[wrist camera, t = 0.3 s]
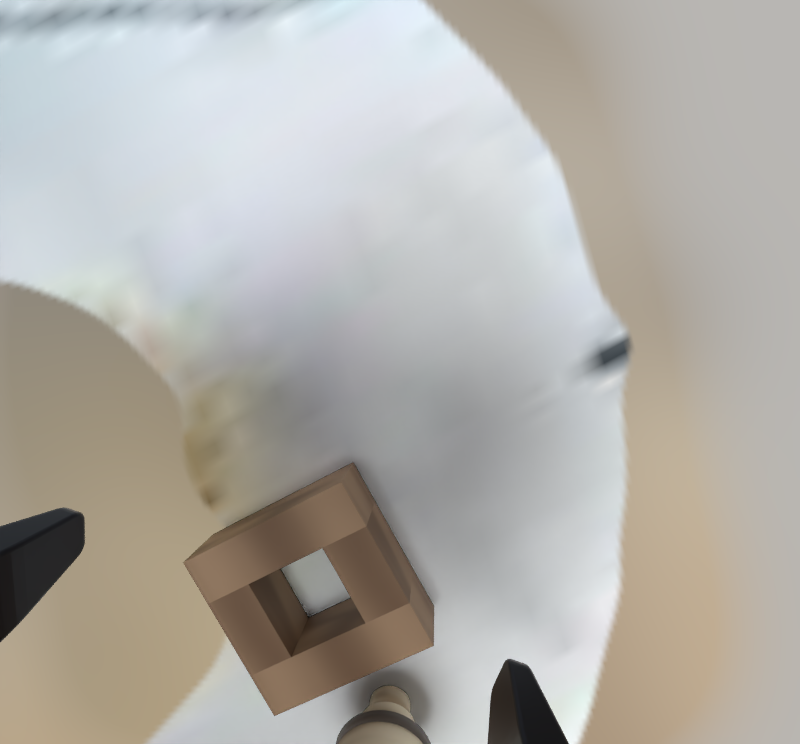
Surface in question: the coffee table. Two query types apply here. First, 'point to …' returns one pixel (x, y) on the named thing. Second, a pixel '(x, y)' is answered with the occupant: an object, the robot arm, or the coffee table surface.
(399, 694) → the peg
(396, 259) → the coffee table surface
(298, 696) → the brown square frame
